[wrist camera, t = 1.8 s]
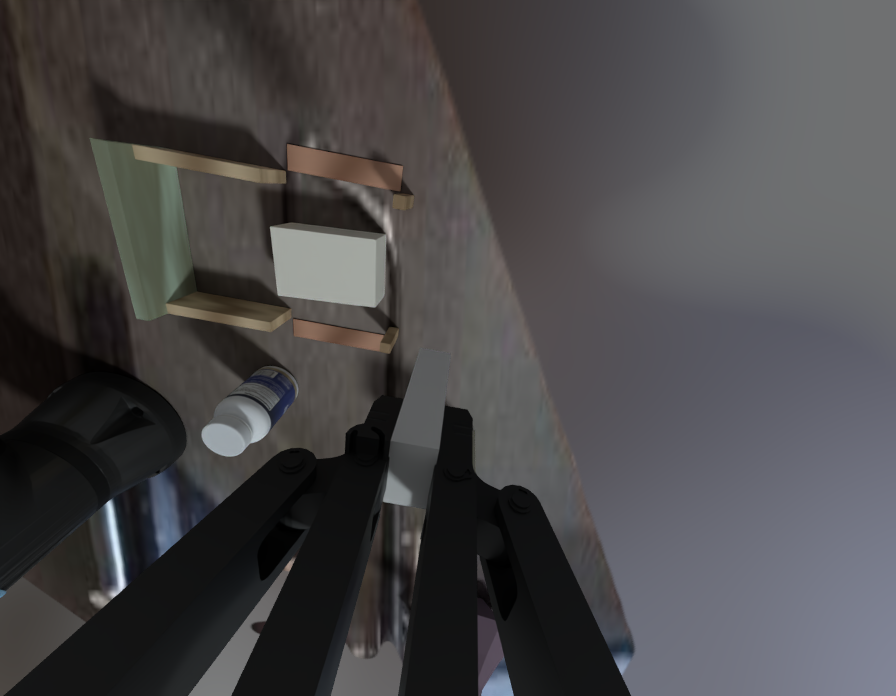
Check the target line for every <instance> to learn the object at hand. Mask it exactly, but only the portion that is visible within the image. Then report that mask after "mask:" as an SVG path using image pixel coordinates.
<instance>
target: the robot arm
mask: <svg viewBox="0 0 896 696" xmlns="http://www.w3.org/2000/svg"><path fill="white" fill-rule="evenodd" d="M450 359H451V353H448V352H442V351H437V350H431V349H426V348H420V350H419V354H418V357H417V360H416V363H415V366H414V369H413V372H412V375H411V379H410V382H409V385H408V388H407V391H406V394H405V397H404V399H401V398H395V397H390V396H384V395H382V396H381V397H379V398H378V399H377V400H376V401H374V403H373V405H372V407H371V409H370V412H369V414H368V416H367V419H366V420H365V423H364V424H359V425H356V426H354V427H352V428H350V429H349V431H348V432H347V433H346V441H345V454H343V455H341V456H338V457H334V458H326V459H316V457H315V455H314V454H313V453H312V452H310V451H309V450H307V449H302V448H291V449H287V450H284V451H281V452H280V453H278V454H277V455H275V456H274V457H273V458H271V459H270V460H269V461H268V462H267V463H266V464H265V465H264V466H262V467H261V468H260V469H259V470H258V471H257V472H256V473H254V474H253V475H252V476H251V477H250V478H249V479H248V480H247V481H245V482H244V483H243V484H242V485H241V486H240V487H239V488H238V489H236V490H235V491H234V492H233V493H232V494H231V495H230V496H229V497H227V498H226V499H225V500H224V501H223V502H222V503H221V504H219V505H218V506H217V507H216V508H215V509H214V510H213V511H212V512H210V513H209V514H208V515H207V516H206V517H205V518H204V519H203V520H201V521H200V522H199V523H198V524H197V525H196V526H195V527H194V528H192V529H191V530H190V531H189V532H188V533H187V534H186V535H184V536H183V537H182V538H181V539H180V540H179V541H178V542H177V543H175V544H174V545H173V546H172V547H171V548H170V549H169V550H168V551H166V552H165V553H164V554H163V555H162V556H161V557H160V558H158V559H157V560H156V561H155V562H154V563H153V564H152V565H151V566H149V567H148V568H147V569H146V570H145V571H144V572H143V573H142V574H140V575H139V576H138V577H137V578H136V579H135V580H134V581H133V582H131V583H130V584H129V585H128V586H127V587H126V588H125V589H123V590H122V591H121V592H120V593H119V594H118V595H117V596H116V597H114V598H113V599H112V600H111V601H110V602H109V603H108V604H107V605H105V606H104V607H103V608H102V609H101V610H100V611H99V612H98V613H96V614H95V615H94V616H93V617H92V618H91V619H90V620H88V621H87V622H86V623H85V624H84V625H83V626H82V627H81V628H80V629H78V630H77V631H76V632H75V633H74V634H73V635H72V636H71V637H69V638H68V639H67V640H66V641H65V642H64V643H63V644H61V645H60V646H59V647H58V648H57V649H56V650H55V651H53V652H52V653H51V654H50V655H49V656H48V657H47V658H46V659H44V660H43V661H42V662H41V663H40V664H39V665H38V666H37V667H36V668H34V669H33V670H32V671H31V672H30V673H29V674H28V675H27V676H25V677H24V678H23V679H22V680H21V681H20V682H19V683H17V684H16V685H15V686H14V687H13V688H12V689H11V690H10V691H8V692H7V693H6V694H5V695H4V696H188V695H189V693H190V692H191V691H192V690H193V688H194V687H195V686H196V684H197V683H198V682H199V680H200V679H201V678H202V676H203V675H204V674H205V672H206V671H207V670H208V668H209V667H210V666H211V665H212V663H213V662H214V661H215V659H216V658H217V657H218V655H219V654H220V653H221V651H222V650H223V649H224V647H225V646H226V645H227V643H228V642H229V641H230V639H231V638H232V637H233V635H234V634H235V632H236V631H237V630H238V629H239V627H240V626H241V625H242V623H243V622H244V621H245V619H246V618H247V617H248V615H249V614H250V613H251V611H252V610H253V609H254V607H255V606H256V605H257V603H258V602H259V601H260V599H261V598H262V597H263V595H264V594H265V593H266V592H267V590H268V589H269V588H270V586H271V585H272V584H273V582H274V581H275V580H276V578H277V577H278V576H279V574H280V573H281V572H282V570H283V569H284V568H285V566H286V565H287V564H288V562H289V561H290V560H291V558H292V557H293V556H294V555H295V553H296V552H297V551H298V549H299V548H300V547H301V549H300V551H299V553H298V555H297V557H296V559H295V561H294V563H293V566H292V568H291V570H290V572H289V574H288V576H287V579H286V581H285V583H284V585H283V587H282V589H281V591H280V593H279V595H278V598H277V600H276V602H275V604H274V606H273V608H272V611H271V613H270V615H269V617H268V619H267V621H266V623H265V625H264V627H263V630H262V632H261V634H260V636H259V638H258V640H257V642H256V644H255V647H254V649H253V651H252V653H251V655H250V657H249V659H248V662H247V664H246V666H245V668H244V670H243V672H242V674H241V676H240V678H239V681H238V683H237V685H236V687H235V689H234V692H233V693H232V696H331V692H332V689H333V685H334V681H335V677H336V674H337V670H338V667H339V663H340V659H341V656H342V652H343V649H344V645H345V641H346V638H347V634H348V630H349V627H350V623H351V620H352V616H353V612H354V609H355V605H356V601H357V598H358V594H359V590H360V587H361V583H362V580H363V576H364V572H365V569H366V565H367V561H368V558H369V554H370V550H371V547H372V543H373V540H374V536H375V532H376V529H377V525H378V521H379V518H380V511H381V505H382V501H383V502H388V503H393V504H399V505H405V506H411V507H416V508H422V509H426V515H425V519H424V524H423V529H422V533H421V538H420V539H421V544H420V551H419V558H418V565H417V572H416V578H415V585H414V592H413V599H412V606H411V612H410V619H409V626H408V633H407V640H406V646H405V653H404V660H403V667H402V674H401V680H400V687H399V694H398V696H478V610H477V554H478V555H479V556H480V561H481V565H482V569H483V573H484V577H485V581H486V585H487V589H488V593H489V597H490V601H491V605H492V609H493V613H494V617H495V621H496V625H497V629H498V633H499V637H500V641H501V646H502V650H503V654H504V658H505V662H506V666H507V670H508V674H509V678H510V682H511V686H512V690H513V694H514V696H631V695H630V693H629V690H628V688H627V686H626V684H625V682H624V680H623V678H622V675H621V673H620V671H619V669H618V667H617V665H616V663H615V661H614V658H613V656H612V654H611V652H610V650H609V648H608V646H607V644H606V641H605V639H604V637H603V635H602V633H601V631H600V629H599V627H598V624H597V622H596V620H595V618H594V616H593V614H592V612H591V610H590V607H589V605H588V603H587V601H586V599H585V597H584V595H583V593H582V590H581V588H580V586H579V584H578V582H577V580H576V578H575V576H574V573H573V571H572V569H571V567H570V565H569V563H568V561H567V559H566V556H565V554H564V552H563V550H562V548H561V546H560V544H559V542H558V539H557V537H556V535H555V533H554V531H553V529H552V527H551V525H550V522H549V520H548V518H547V516H546V514H545V512H544V510H543V508H542V505H541V503H540V502H539V500H538V499H537V497H536V496H535V495H534V494H533V493H532V492H531V491H529V490H528V489H526V488H524V487H522V486H517V485H509V486H505V487H504V488H503V489H501V490H498V489H496V488H494V487H492V486H490V485H488V484H486V483H485V482H483V481H482V480H481V479H480V478H479V477H478V476H477V474H476V473H475V471H474V469H473V437H472V435H473V429H472V428H473V418H472V417H471V415H470V413H469V411H468V410H466V409H461V408H455V407H450V406H445V399H446V391H447V383H448V375H449V367H450ZM185 447H186V432H185V429H184V426H183V424H182V422H181V420H180V418H179V416H178V415H177V413H176V412H175V411H174V409H173V408H172V407H171V406H170V405H169V404H168V403H167V402H166V401H165V400H164V399H163V398H162V397H161V396H159V395H158V394H157V393H156V392H154V391H153V390H151V389H150V388H148V387H147V386H145V385H143V384H141V383H139V382H137V381H135V380H133V379H131V378H128V377H125V376H122V375H118V374H114V373H108V372H91V373H86V374H83V375H80V376H78V377H76V378H74V379H72V380H70V381H68V382H66V383H64V384H62V385H60V386H59V387H57V388H56V389H55V390H54V391H53V392H52V393H51V394H50V395H49V396H48V398H47V399H46V400H45V401H44V402H43V403H41V404H40V405H39V406H38V407H37V408H36V409H34V410H33V411H32V412H31V413H30V414H29V415H28V416H27V417H25V418H24V419H23V420H22V421H21V422H20V423H19V424H18V425H17V426H15V427H14V428H13V429H11V430H10V431H8V432H6V433H4V434H2V435H0V598H1V597H2V596H3V595H4V594H6V591H7V590H8V589H9V588H10V587H11V586H12V585H13V584H14V583H16V582H17V581H18V580H19V579H20V578H21V577H22V576H24V575H25V574H26V573H27V572H28V571H29V570H30V569H32V568H33V567H34V566H35V565H36V564H37V563H38V562H39V561H41V560H42V559H43V558H44V557H45V556H46V555H47V554H49V553H50V552H51V551H52V550H53V549H54V548H55V547H57V546H58V545H59V544H60V543H61V542H62V541H63V540H64V539H66V538H67V537H68V536H69V535H70V534H71V533H72V532H74V531H75V530H76V529H77V528H78V527H79V526H80V525H82V524H83V523H84V522H85V521H86V520H87V519H88V518H90V517H91V516H92V515H93V514H94V513H95V512H96V511H97V510H99V509H100V508H101V507H102V506H103V505H104V504H106V503H107V502H108V501H109V500H110V499H112V498H113V497H115V496H117V495H119V494H121V493H123V492H125V491H127V490H129V489H131V488H132V487H134V486H136V485H138V484H139V483H141V482H143V481H144V480H146V479H147V478H151V477H154V476H156V475H158V474H160V473H162V472H163V471H165V470H166V469H167V468H168V467H170V466H171V465H172V464H173V463H174V462H175V461H176V460H177V459H178V458H179V457H180V456H181V455H182V454H183V452H184V450H185ZM301 545H302V546H301Z"/></svg>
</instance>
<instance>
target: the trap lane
mask: <svg viewBox="0 0 896 696" xmlns="http://www.w3.org/2000/svg"><path fill="white" fill-rule="evenodd" d="M90 141H91V145H92V149H93V153H94V157H95V161H96V165H97V168H98V172H99V176H100V180H101V184H102V188H103V192H104V195H105V199H106V203H107V207H108V211H109V215H110V219H111V222H112V226H113V230H114V234H115V238H116V242H117V246H118V249H119V253H120V257H121V261H122V265H123V269H124V273H125V276H126V280H127V284H128V288H129V292H130V296H131V300H132V303H133V307H134V311H135V315H136V319H142V320H147V321H151V320H153V319H156V318H158V317H160V316H163V315H165V314H168V313H169V314H174V315H180V316H185V317H191V318H196V319H202V320H207V321H213V322H218V323H224V324H229V325H235V326H240V327H246V328H251V329H257V330H262V331H268V332H272V331H273V330H275V329H276V328H278V327H279V326H280V325H282V324H283V323H284V322H286V321H287V320H289V319H290V318H291V309H290V308H285V307H279V306H274V305H268V304H263V303H257V302H252V301H246V300H241V299H236V298H230V297H225V296H219V295H214V294H208V293H203V292H197V287H196V281H195V275H194V269H193V263H192V257H191V251H190V245H189V239H188V233H187V227H186V221H185V215H184V209H183V203H182V197H181V191H180V185H179V179H178V173H177V167H180V168H185V169H190V170H195V171H201V172H206V173H211V174H216V175H222V176H227V177H232V178H237V179H243V180H248V181H253V182H259V183H286V171H283V170H278V169H273V168H268V167H262V166H257V165H252V164H247V163H241V162H236V161H231V160H226V159H221V158H215V157H210V156H205V155H200V154H194V153H189V152H184V151H179V150H173V149H168V148H163V147H157V146H149V145H141V144H133V143H125V142H117V141H109V140H102V139H94V138H90ZM287 158H288V170H290V171H295V172H300V173H305V174H311V175H316V176H321V177H326V178H332V179H337V180H342V181H347V182H353V183H358V184H363V185H368V186H373V187H379V188H384V189H389V190H394V191H401V181H402V171H403V166H399V165H394V164H388V163H383V162H378V161H373V160H368V159H362V158H357V157H352V156H347V155H342V154H336V153H331V152H326V151H321V150H316V149H311V148H305V147H300V146H295V145H290V144H287ZM413 201H414V195H409V194H404V193H402V194H394V197H393V208H395V209H401V210H407V209H410V208H413ZM293 325H294V336H297V337H303V338H308V339H314V340H319V341H325V342H330V343H336V344H341V345H347V346H352V347H358V348H363V349H369V350H374V351H379V352H384V353H389V354H390V352H391V350H392V348H393V346H394V344H395V342H396V340H397V338H398V331H399V328H394V327H389V328H388V330H387V332H386V334H385V335H380V334H375V333H369V332H364V331H358V330H353V329H347V328H342V327H336V326H331V325H326V324H320V323H315V322H309V321H304V320H298V319H293Z"/></svg>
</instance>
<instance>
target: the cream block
mask: <svg viewBox="0 0 896 696" xmlns="http://www.w3.org/2000/svg"><path fill="white" fill-rule="evenodd" d="M270 232H271V240H272V249H273V257H274V266H275V275H276V283H277V292H278V295H279V296H287V297H295V298H303V299H311V300H319V301H327V302H335V303H342V304H350V305H358V306H366V307H374V308H375V307H376V306H377V305H378V303H379V302H380V301H381V300H382V298H383V297H384V296H385V263H386V234H381V233H373V232H365V231H357V230H349V229H341V228H333V227H325V226H317V225H309V224H301V223H293V222H291V223H286V224H280V225H275V226H270Z"/></svg>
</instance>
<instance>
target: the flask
mask: <svg viewBox="0 0 896 696" xmlns="http://www.w3.org/2000/svg"><path fill="white" fill-rule="evenodd" d="M477 610H478V696H481V693H482V689H483V688H484V686H485V684H486V683H487V681H488V680H489V678H490V676H491V675H492V673H493V671H494V670H495V668H496V667H497V665H498V664H499V663H500V661H501V660H502V658H503V657H504V654H503V650H502V646H501V641H500V637H499V633H498V629H497V625H496V621H495V617H494V613H493V611H492V610H491V609H490V608H489V606H488V605H487V604H486V603H485V601H484V600H483V599H480V598H477Z"/></svg>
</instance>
